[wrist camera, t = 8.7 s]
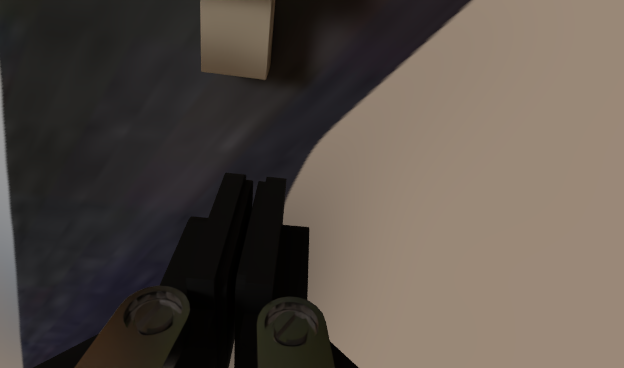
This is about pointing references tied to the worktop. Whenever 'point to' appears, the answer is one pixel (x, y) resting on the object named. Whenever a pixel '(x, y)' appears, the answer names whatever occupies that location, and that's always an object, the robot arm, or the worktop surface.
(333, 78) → the worktop surface
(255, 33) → the pivot link
